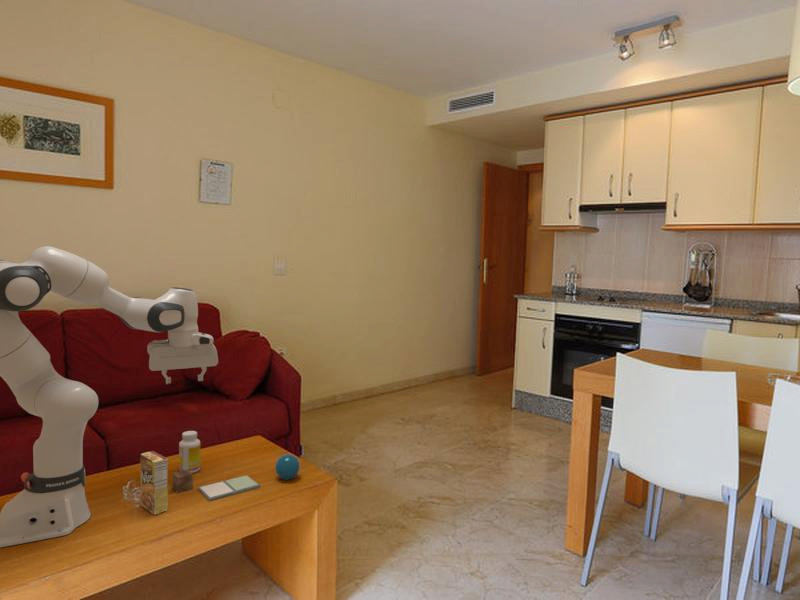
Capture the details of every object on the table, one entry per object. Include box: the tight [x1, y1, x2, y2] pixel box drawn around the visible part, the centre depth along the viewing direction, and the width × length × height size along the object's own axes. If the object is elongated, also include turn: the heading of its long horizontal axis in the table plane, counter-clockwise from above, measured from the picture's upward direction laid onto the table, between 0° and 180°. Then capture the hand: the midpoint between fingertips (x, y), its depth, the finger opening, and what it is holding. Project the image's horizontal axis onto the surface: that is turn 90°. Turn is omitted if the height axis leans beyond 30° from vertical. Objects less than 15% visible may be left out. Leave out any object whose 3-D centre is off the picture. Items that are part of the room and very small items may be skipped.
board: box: [197, 474, 261, 502], centre depth 167 cm, size 16×10×1 cm, turn 130°
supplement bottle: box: [178, 430, 202, 474], centre depth 179 cm, size 7×7×13 cm
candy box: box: [139, 450, 169, 516], centre depth 152 cm, size 9×4×15 cm, turn 50°
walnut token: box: [172, 469, 194, 494], centre depth 165 cm, size 4×4×5 cm
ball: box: [274, 453, 301, 481], centre depth 175 cm, size 8×8×8 cm
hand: (184, 381), depth 169 cm, fingers open, 8 cm apart
